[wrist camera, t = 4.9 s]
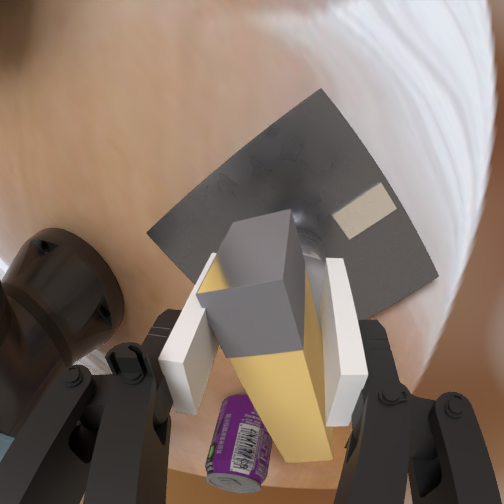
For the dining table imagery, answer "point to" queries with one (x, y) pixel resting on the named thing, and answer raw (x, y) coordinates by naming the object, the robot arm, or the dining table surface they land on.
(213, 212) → the post base
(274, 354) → the handle
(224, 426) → the beverage can
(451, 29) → the dining table surface
